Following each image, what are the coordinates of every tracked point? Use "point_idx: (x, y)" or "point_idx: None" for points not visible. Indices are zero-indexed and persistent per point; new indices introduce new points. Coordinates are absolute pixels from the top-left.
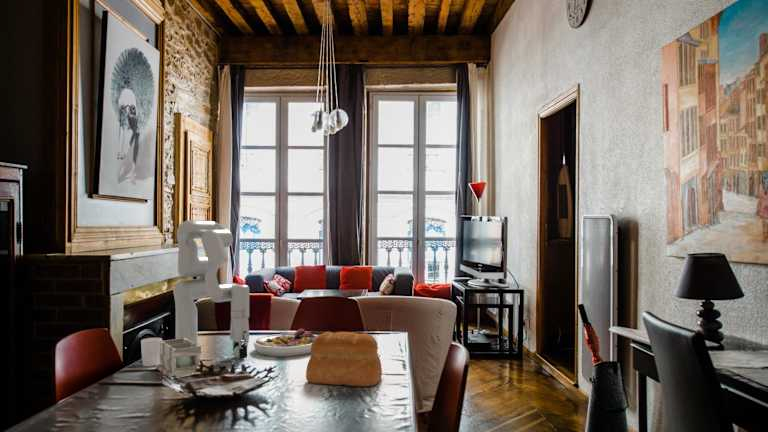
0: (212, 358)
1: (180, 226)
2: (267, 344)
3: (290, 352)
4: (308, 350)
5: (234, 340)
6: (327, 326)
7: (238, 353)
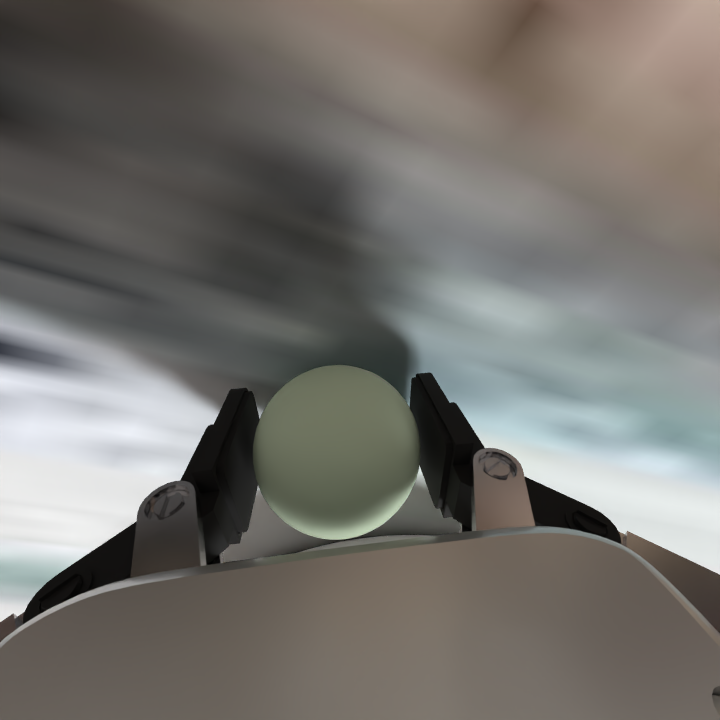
0: (563, 128)
1: None
2: None
3: None
4: None
5: (285, 573)
6: None
7: (262, 413)
